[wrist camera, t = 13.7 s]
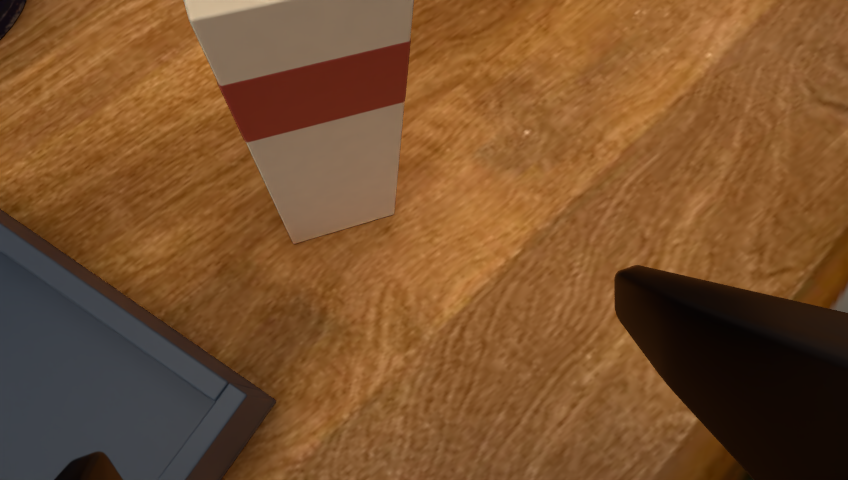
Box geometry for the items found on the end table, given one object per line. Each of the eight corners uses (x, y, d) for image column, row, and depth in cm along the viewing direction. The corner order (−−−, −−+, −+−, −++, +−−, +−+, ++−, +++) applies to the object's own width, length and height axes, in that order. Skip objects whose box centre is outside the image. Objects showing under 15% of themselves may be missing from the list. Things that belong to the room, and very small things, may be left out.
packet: (395, 214, 21) (418, -28, 10) (292, 245, 20) (187, 21, 9) (356, 106, 22) (337, -219, 11) (259, 131, 22) (130, -190, 10)
